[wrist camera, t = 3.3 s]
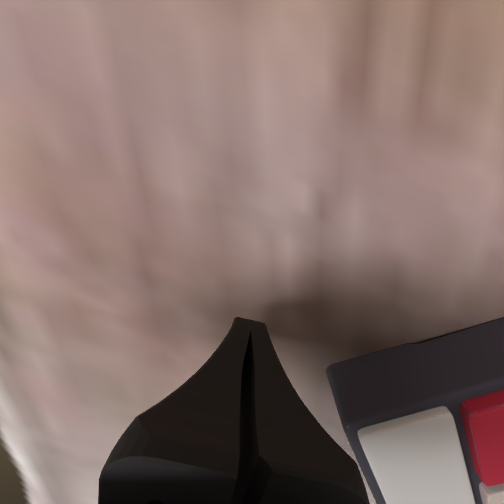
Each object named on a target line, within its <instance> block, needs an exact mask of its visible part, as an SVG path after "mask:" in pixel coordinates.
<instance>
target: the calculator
mask: <svg viewBox="0 0 504 504" xmlns="http://www.w3.org/2000/svg"><path fill="white" fill-rule="evenodd" d="M326 373H327V376H328V379H329V383H330V386H331V389H332V393H333V396H334V400H335V403H336V406H337V410H338V413H339V416H340V419H341V422H342V426H343V429H344V431H345V434H346V436H347V438H348V441H349V443H350V445H351V447H352V449H353V452H354V454H355V456H356V458H357V461H358V463H359V465H360V467H361V470H362V472H363V474H364V476H365V478H366V481H367V483H368V485H369V487H370V490H371V492H372V494H373V496H374V498H375V501H376V503H377V504H504V317H503V318H500V319H497V320H494V321H491V322H487V323H484V324H481V325H478V326H475V327H472V328H468V329H465V330H462V331H459V332H456V333H452V334H449V335H446V336H443V337H440V338H437V339H433V340H430V341H427V342H423V343H420V344H411V343H408V344H404V345H400V346H396V347H393V348H389V349H385V350H382V351H378V352H374V353H371V354H367V355H364V356H360V357H356V358H353V359H349V360H346V361H342V362H338V363H335V364H332V365H330V366H329V367H328V368H327V370H326Z"/></svg>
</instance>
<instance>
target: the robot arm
mask: <svg viewBox="0 0 504 504" xmlns="http://www.w3.org/2000/svg"><path fill="white" fill-rule="evenodd" d="M98 504H370V503H369V499H368V496H367V492H366V488H365V485H364V482H363V479H362V477H361V474H360V471H359V469H358V466H357V463H356V462H355V461H354V460H353V459H352V458H351V457H350V456H349V455H348V454H347V453H346V452H345V451H344V450H343V449H342V448H341V447H340V446H339V445H338V444H337V443H336V442H335V441H334V440H333V439H332V438H331V437H330V435H329V434H328V433H327V432H326V431H325V430H324V429H323V428H322V426H321V425H320V424H319V423H318V422H317V420H316V419H315V418H314V416H313V415H312V414H311V412H310V411H309V410H308V409H307V407H306V406H305V405H304V403H303V402H302V400H301V399H300V397H299V396H298V394H297V393H296V391H295V389H294V388H293V386H292V384H291V383H290V381H289V379H288V377H287V375H286V373H285V371H284V370H283V368H282V365H281V363H280V361H279V359H278V357H277V354H276V352H275V350H274V347H273V345H272V342H271V339H270V337H269V334H268V330H267V327H266V325H265V323H262V322H257V321H253V320H249V319H244V318H240V317H236V318H235V319H234V322H233V325H232V327H231V329H230V330H229V332H228V334H227V336H226V337H225V338H224V340H223V341H222V343H221V344H220V346H219V347H218V348H217V350H216V351H215V352H214V353H213V355H212V356H211V357H210V358H209V359H208V360H207V362H206V363H205V364H204V365H203V366H202V367H201V368H200V369H199V370H198V371H197V372H196V373H195V374H194V375H193V376H192V377H191V378H189V379H188V380H187V381H186V382H185V383H184V384H183V385H182V386H180V387H179V388H178V389H177V390H175V391H174V392H173V393H171V394H170V395H169V396H167V397H166V398H165V399H163V400H162V401H160V402H159V403H158V404H156V405H154V406H153V407H151V408H150V409H148V410H146V411H145V412H143V413H142V414H140V415H138V416H137V417H136V418H135V419H134V420H133V422H132V423H131V424H130V425H129V427H128V428H127V429H126V431H125V432H124V433H123V435H122V436H121V437H120V439H119V440H118V442H117V444H116V445H115V447H114V448H113V450H112V452H111V454H110V455H109V457H108V459H107V461H106V463H105V465H104V467H103V469H102V471H101V475H100V478H99V497H98Z"/></svg>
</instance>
